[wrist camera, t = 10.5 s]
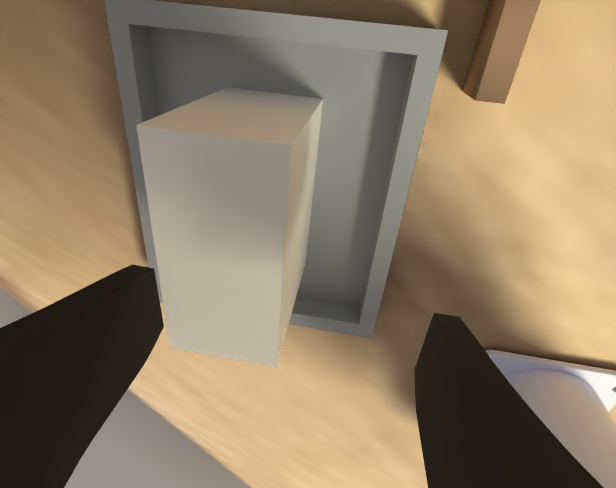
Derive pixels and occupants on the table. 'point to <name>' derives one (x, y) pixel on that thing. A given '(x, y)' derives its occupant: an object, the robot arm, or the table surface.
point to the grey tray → (333, 128)
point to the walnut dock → (499, 49)
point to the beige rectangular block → (231, 217)
